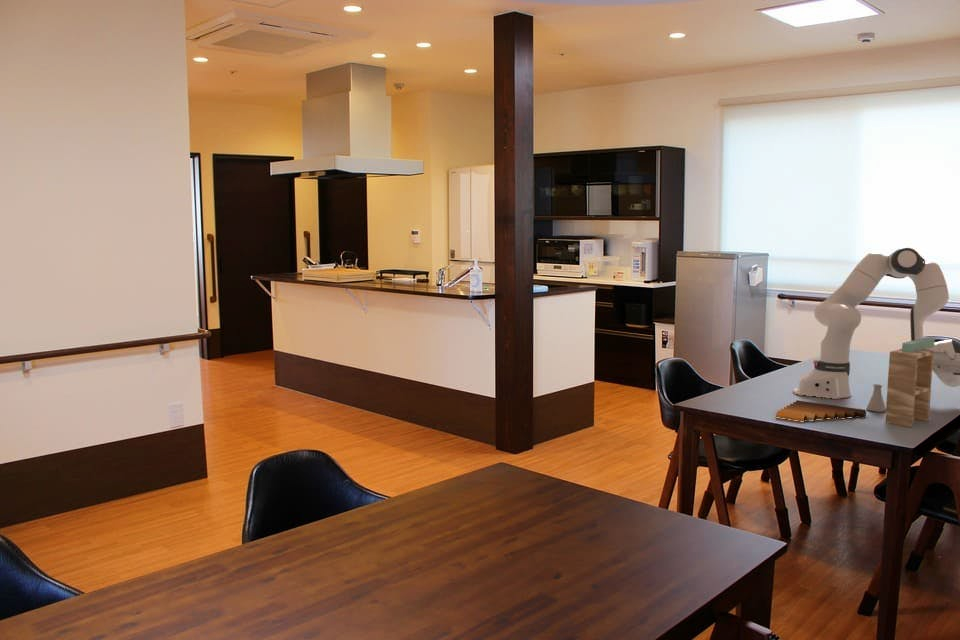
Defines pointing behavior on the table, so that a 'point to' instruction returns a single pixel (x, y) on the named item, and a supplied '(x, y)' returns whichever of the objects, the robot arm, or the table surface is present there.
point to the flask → (876, 400)
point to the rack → (909, 386)
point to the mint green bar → (918, 345)
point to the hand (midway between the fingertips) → (932, 349)
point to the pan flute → (817, 411)
